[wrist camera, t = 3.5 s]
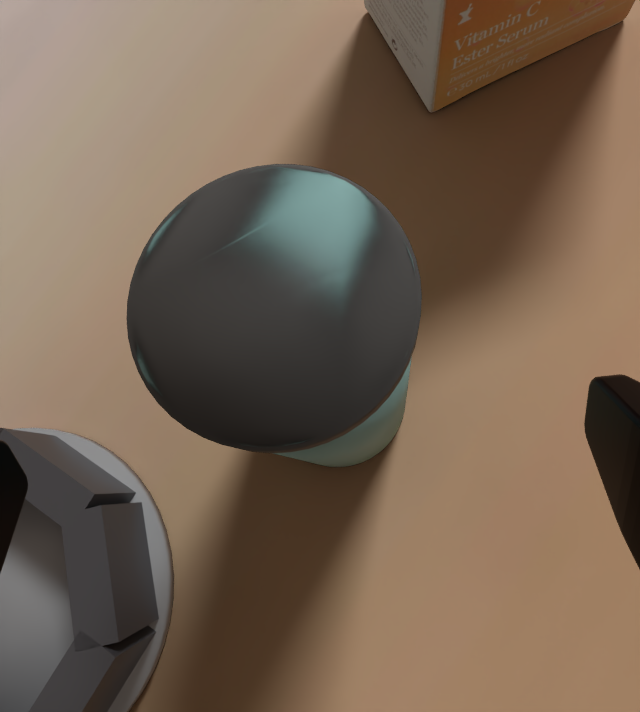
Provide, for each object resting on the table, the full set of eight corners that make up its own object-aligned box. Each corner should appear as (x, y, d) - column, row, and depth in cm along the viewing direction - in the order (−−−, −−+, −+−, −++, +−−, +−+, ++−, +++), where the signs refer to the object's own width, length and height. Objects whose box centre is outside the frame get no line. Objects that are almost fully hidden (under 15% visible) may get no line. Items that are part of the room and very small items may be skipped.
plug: (423, 449, 17) (461, 405, 8) (285, 483, 17) (150, 485, 8) (386, 316, 18) (376, 130, 9) (257, 351, 19) (108, 208, 9)
